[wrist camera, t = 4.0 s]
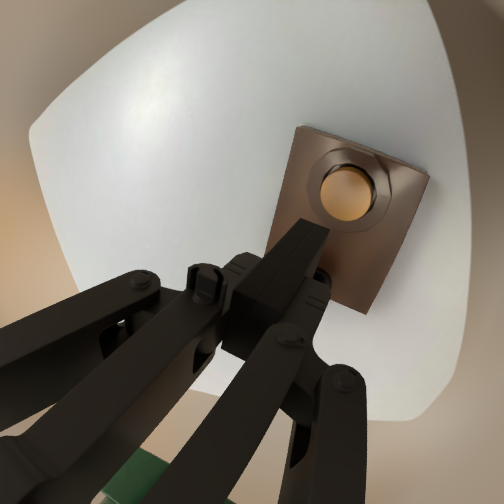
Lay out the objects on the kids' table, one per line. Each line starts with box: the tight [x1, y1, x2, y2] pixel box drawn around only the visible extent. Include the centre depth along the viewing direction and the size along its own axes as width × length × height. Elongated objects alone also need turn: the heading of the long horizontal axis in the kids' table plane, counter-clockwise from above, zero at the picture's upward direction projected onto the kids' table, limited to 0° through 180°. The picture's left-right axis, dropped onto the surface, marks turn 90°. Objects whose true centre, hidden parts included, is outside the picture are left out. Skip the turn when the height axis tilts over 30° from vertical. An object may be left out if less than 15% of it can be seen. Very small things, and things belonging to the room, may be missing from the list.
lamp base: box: [264, 126, 430, 315], centre depth 27 cm, size 12×15×4 cm
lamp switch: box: [320, 167, 373, 221], centre depth 23 cm, size 4×4×2 cm
